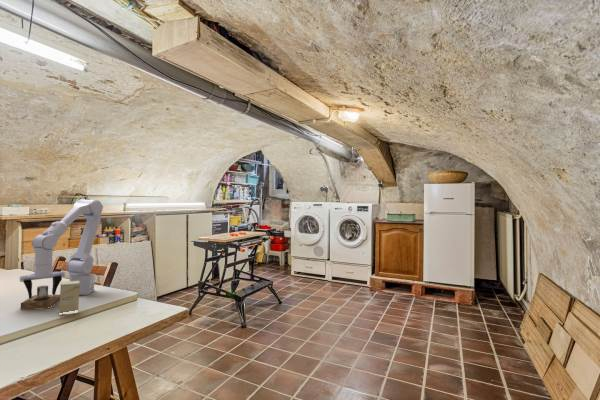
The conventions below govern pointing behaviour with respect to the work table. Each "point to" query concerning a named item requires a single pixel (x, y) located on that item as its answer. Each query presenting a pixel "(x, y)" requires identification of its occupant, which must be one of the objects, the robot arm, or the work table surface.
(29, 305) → the socket block
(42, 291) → the pin
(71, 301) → the skincare box
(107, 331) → the work table surface
